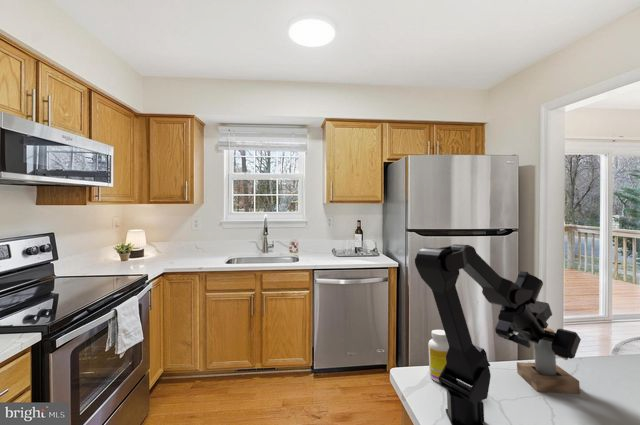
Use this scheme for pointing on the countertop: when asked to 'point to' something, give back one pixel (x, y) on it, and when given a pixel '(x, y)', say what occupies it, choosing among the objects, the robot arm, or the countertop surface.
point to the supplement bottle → (437, 353)
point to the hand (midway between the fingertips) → (547, 352)
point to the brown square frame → (548, 379)
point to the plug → (545, 357)
